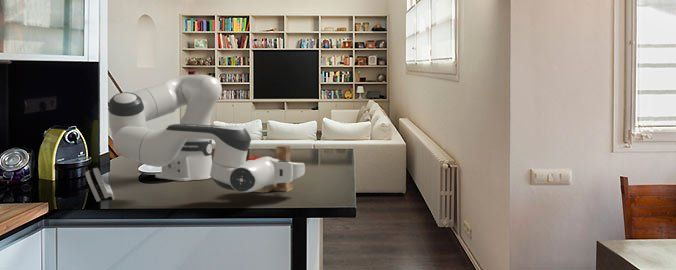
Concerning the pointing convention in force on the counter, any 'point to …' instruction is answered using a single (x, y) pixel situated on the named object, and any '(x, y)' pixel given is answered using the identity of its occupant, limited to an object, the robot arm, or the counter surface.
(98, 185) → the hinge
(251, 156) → the apple
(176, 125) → the robot arm
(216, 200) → the counter surface
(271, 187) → the board
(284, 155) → the brown wooden block tower
